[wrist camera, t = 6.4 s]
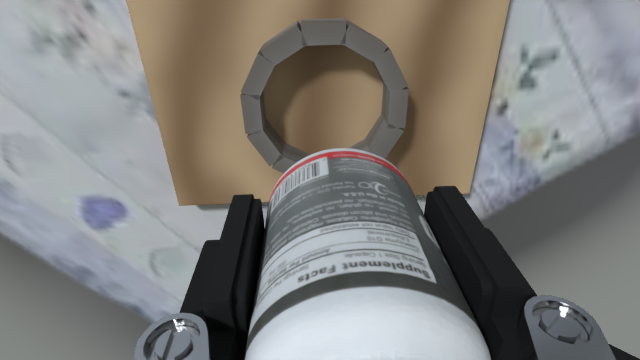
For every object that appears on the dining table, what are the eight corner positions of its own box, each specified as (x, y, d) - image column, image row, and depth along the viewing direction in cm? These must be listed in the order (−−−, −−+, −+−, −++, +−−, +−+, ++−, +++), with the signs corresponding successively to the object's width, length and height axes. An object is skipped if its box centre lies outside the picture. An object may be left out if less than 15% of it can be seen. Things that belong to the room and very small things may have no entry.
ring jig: (504, -41, 20) (540, -42, 17) (461, 182, 27) (481, 209, 24) (130, -31, 20) (98, -30, 16) (185, 193, 27) (170, 223, 24)
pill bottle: (402, 261, 14) (517, 602, 6) (272, 263, 13) (236, 617, 6) (421, 141, 11) (641, 468, 4) (263, 143, 11) (186, 487, 4)
